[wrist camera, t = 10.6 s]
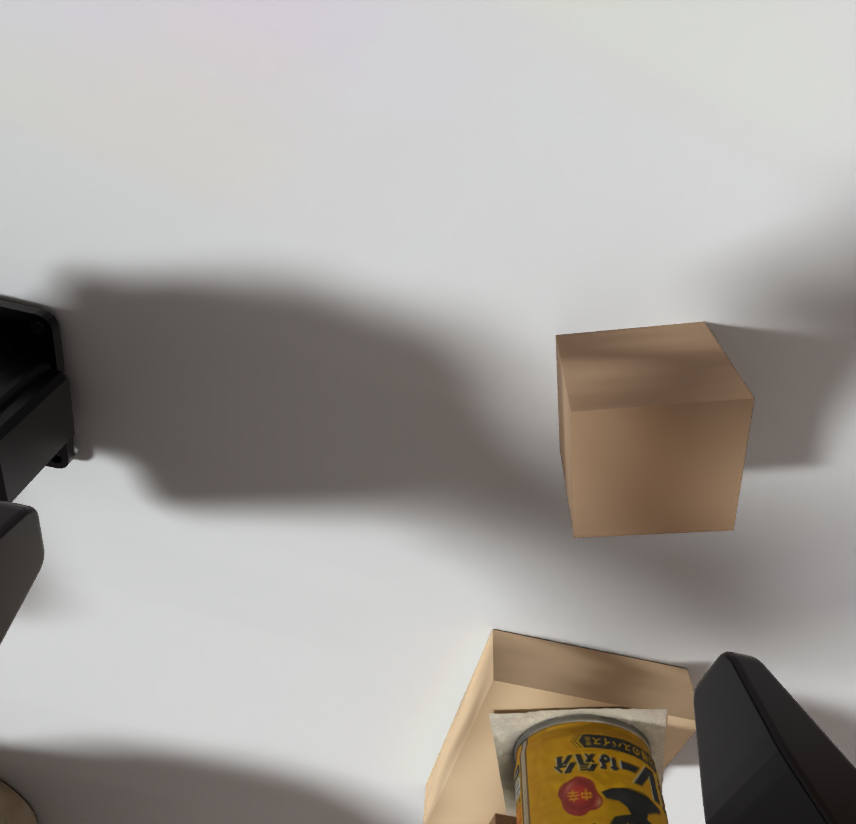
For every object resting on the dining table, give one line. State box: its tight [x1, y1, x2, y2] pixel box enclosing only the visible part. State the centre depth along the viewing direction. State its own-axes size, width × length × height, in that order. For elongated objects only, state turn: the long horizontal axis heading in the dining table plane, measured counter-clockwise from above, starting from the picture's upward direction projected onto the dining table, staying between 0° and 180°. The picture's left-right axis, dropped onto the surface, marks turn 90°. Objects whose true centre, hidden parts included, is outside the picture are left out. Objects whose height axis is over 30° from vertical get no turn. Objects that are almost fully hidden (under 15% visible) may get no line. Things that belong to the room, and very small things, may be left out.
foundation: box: [423, 630, 696, 824], centre depth 30 cm, size 9×14×6 cm, turn 168°
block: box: [556, 322, 754, 538], centre depth 19 cm, size 4×4×4 cm
